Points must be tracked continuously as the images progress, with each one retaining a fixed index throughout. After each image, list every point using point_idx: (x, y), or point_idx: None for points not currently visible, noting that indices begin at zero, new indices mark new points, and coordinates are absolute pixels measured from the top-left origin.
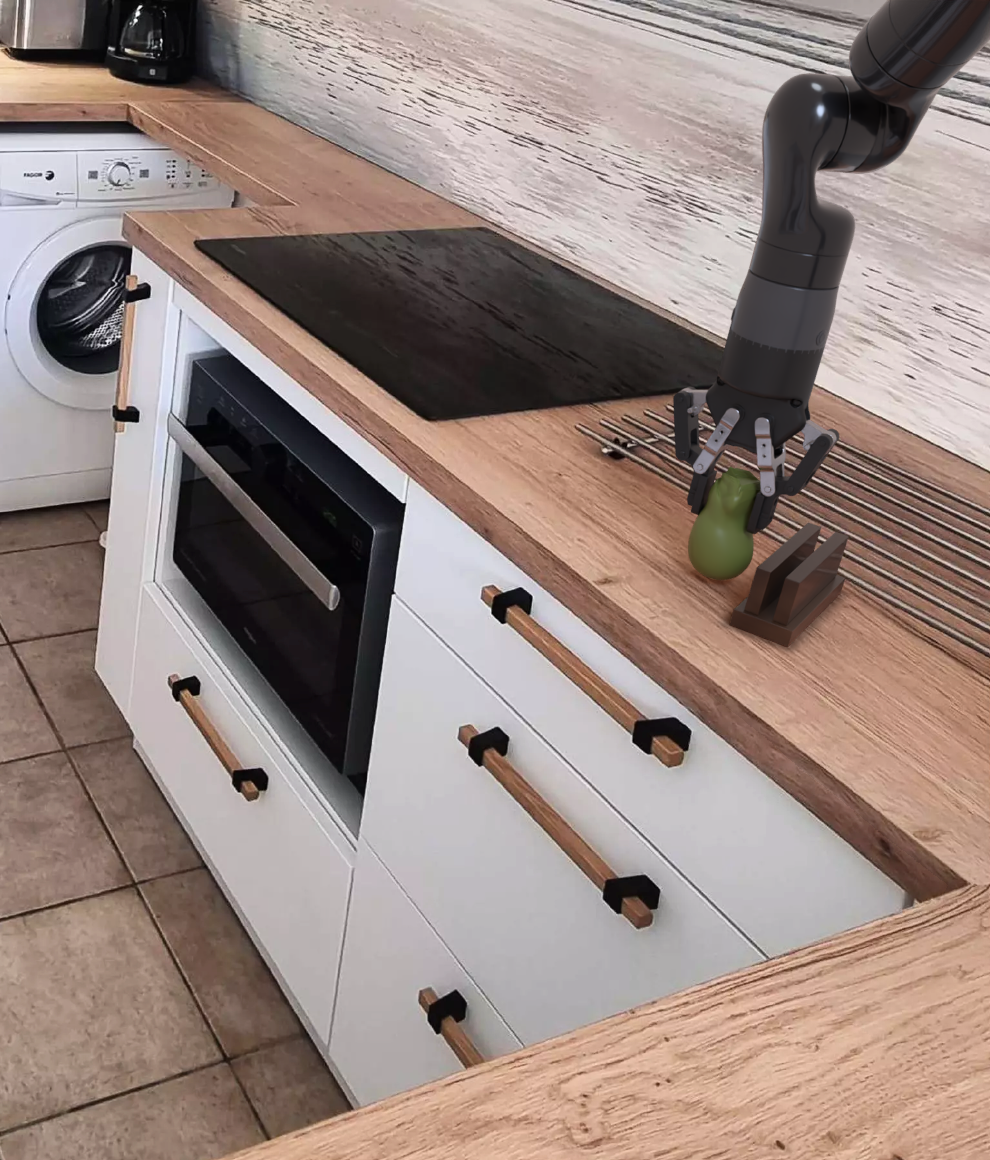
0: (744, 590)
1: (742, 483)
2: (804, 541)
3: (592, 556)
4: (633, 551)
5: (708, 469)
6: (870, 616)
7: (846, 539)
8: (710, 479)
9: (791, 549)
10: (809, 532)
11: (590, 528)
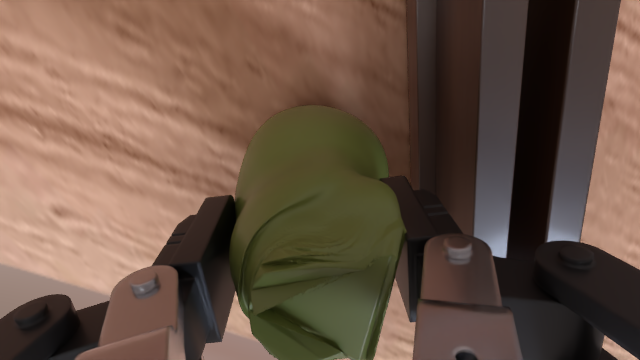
0: (376, 130)
1: (351, 346)
2: (517, 121)
3: (124, 248)
4: (145, 166)
5: (201, 349)
6: (620, 4)
7: None
8: (217, 298)
9: (502, 201)
10: (511, 36)
11: (21, 147)
